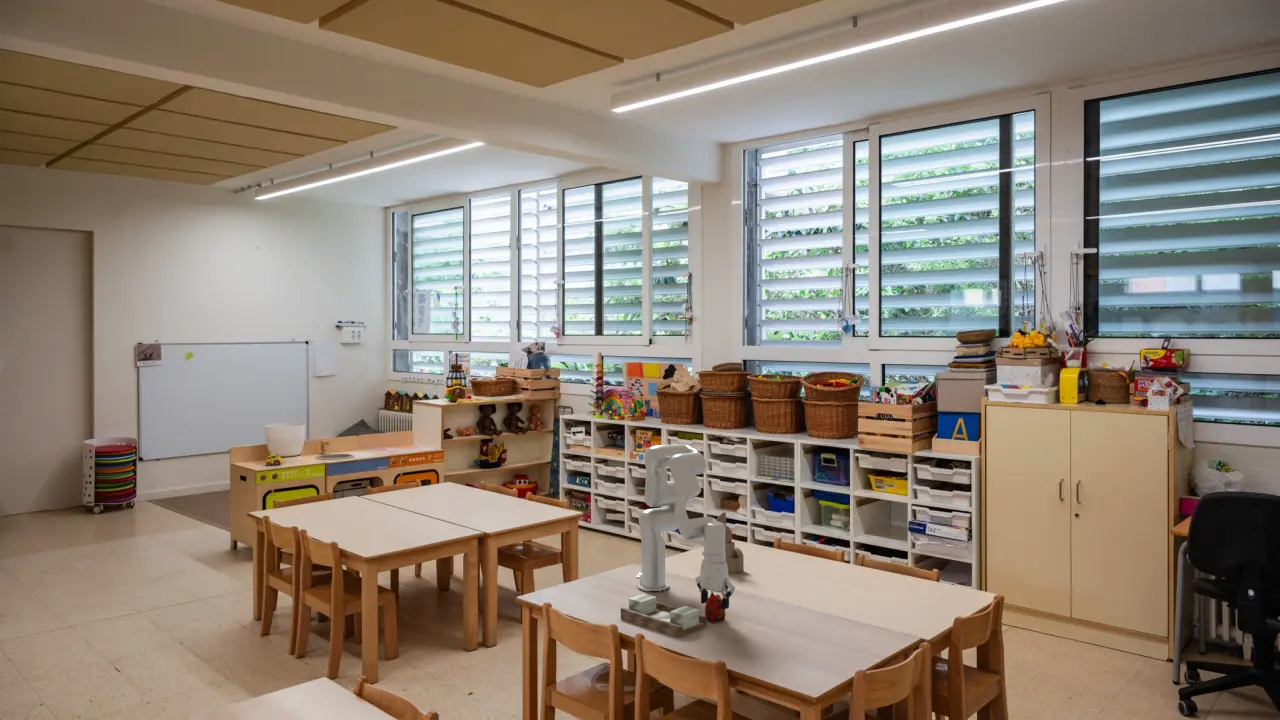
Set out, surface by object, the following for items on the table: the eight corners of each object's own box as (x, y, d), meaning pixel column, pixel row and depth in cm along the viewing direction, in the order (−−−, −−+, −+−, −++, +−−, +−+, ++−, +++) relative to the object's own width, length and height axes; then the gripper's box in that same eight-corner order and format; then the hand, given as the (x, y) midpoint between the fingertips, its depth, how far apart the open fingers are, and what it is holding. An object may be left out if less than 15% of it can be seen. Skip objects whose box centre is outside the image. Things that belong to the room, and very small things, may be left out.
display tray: (620, 618, 289) (620, 599, 289) (648, 608, 300) (648, 590, 300) (679, 637, 270) (679, 618, 270) (707, 626, 280) (706, 607, 280)
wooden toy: (744, 571, 348) (744, 513, 347) (735, 574, 343) (735, 515, 342) (715, 564, 358) (715, 508, 357) (706, 567, 353) (706, 510, 352)
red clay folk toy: (716, 625, 281) (716, 582, 281) (700, 621, 286) (700, 578, 286) (729, 619, 287) (729, 577, 287) (713, 615, 292) (713, 574, 291)
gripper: (689, 554, 289) (689, 602, 290) (727, 564, 277) (727, 614, 278) (702, 550, 295) (702, 598, 295) (740, 559, 283) (741, 608, 283)
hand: (714, 605), depth 286 cm, fingers open, 9 cm apart
